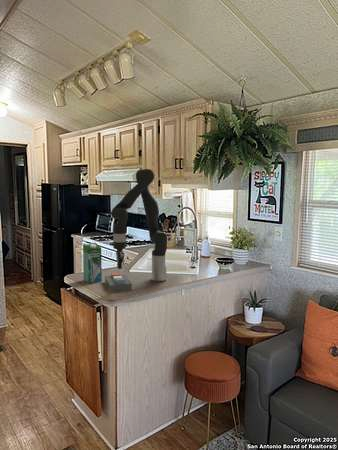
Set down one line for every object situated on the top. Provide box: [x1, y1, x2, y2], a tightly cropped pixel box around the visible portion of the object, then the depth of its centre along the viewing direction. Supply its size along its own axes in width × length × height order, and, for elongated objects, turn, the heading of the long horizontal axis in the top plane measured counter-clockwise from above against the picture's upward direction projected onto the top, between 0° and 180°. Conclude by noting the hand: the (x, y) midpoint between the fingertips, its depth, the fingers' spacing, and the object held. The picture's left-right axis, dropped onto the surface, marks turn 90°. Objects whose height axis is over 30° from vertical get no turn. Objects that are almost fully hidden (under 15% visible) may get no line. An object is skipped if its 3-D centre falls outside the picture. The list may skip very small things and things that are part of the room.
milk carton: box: [82, 242, 103, 284], centre depth 218 cm, size 9×9×25 cm
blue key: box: [115, 278, 125, 285], centre depth 202 cm, size 5×5×3 cm
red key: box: [110, 272, 121, 278], centre depth 216 cm, size 5×5×3 cm
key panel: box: [104, 274, 133, 293], centre depth 209 cm, size 13×22×4 cm, turn 19°
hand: (119, 268), depth 201 cm, fingers closed
